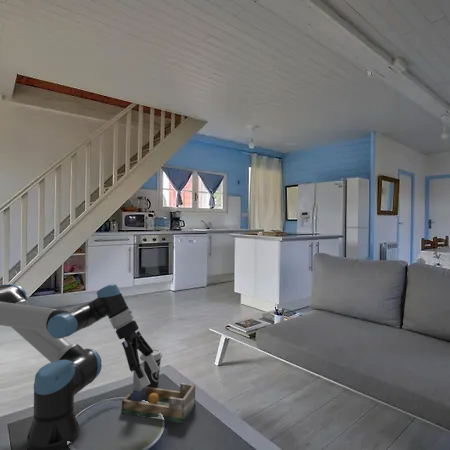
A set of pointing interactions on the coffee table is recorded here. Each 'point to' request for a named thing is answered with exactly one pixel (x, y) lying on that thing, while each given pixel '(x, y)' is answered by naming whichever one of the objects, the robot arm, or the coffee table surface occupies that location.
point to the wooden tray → (164, 404)
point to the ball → (153, 398)
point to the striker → (137, 387)
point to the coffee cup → (151, 376)
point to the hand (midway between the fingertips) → (151, 378)
